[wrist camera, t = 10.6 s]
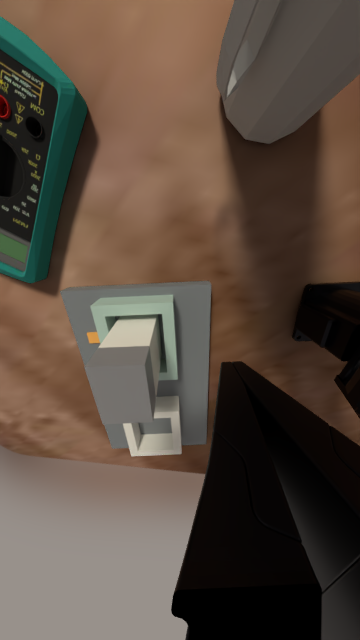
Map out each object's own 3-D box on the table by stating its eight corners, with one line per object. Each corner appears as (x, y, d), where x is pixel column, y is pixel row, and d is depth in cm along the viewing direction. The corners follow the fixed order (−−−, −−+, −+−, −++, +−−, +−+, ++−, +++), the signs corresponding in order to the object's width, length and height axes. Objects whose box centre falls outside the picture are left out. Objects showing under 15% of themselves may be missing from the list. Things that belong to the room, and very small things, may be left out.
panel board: (208, 280, 18) (211, 284, 16) (204, 434, 28) (206, 445, 27) (68, 287, 18) (58, 292, 16) (115, 438, 28) (111, 449, 27)
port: (173, 294, 17) (172, 302, 15) (177, 365, 20) (177, 379, 18) (100, 297, 17) (90, 306, 15) (117, 368, 20) (110, 382, 18)
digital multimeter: (95, 99, 13) (73, 63, 10) (49, 281, 18) (27, 289, 16) (-19, 19, 11) (-80, -49, 9) (-33, 244, 17) (-73, 245, 14)
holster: (178, 395, 22) (178, 411, 20) (181, 437, 26) (181, 454, 24) (125, 398, 22) (120, 413, 20) (134, 439, 26) (131, 456, 24)
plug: (157, 312, 18) (144, 364, 10) (161, 354, 20) (153, 422, 13) (122, 313, 18) (84, 367, 10) (129, 355, 20) (102, 424, 13)
